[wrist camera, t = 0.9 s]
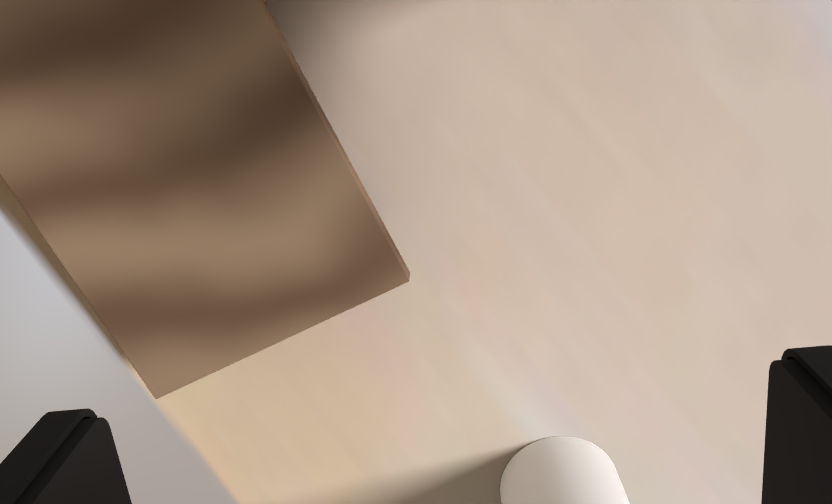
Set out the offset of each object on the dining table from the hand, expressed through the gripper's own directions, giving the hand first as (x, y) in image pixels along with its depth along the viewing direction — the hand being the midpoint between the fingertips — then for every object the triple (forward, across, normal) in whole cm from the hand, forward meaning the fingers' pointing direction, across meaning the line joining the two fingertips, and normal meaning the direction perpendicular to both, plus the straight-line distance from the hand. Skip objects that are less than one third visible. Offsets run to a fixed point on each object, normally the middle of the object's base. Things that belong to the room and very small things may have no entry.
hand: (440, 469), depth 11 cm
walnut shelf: (+30, +12, 0) cm, 32 cm away
